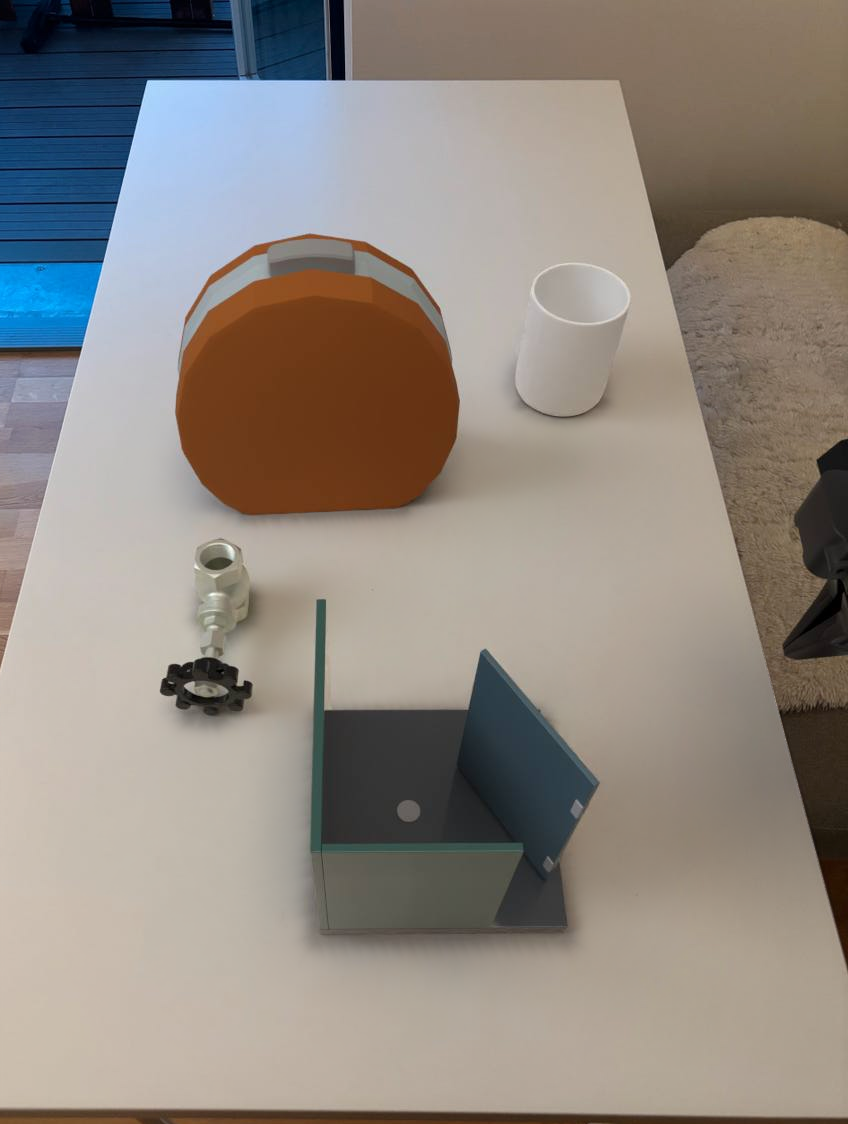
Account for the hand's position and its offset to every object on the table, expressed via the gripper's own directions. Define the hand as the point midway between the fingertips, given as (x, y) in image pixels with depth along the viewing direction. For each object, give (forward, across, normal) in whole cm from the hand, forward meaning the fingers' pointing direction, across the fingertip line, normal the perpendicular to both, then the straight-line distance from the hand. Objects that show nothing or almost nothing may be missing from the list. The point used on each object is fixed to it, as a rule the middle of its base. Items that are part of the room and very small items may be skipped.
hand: (788, 653), depth 57 cm
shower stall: (+20, +8, -14) cm, 25 cm away
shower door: (+16, +8, -10) cm, 21 cm away
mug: (+16, -39, -5) cm, 42 cm away
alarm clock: (+24, -25, -25) cm, 43 cm away
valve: (+27, -5, -30) cm, 40 cm away
